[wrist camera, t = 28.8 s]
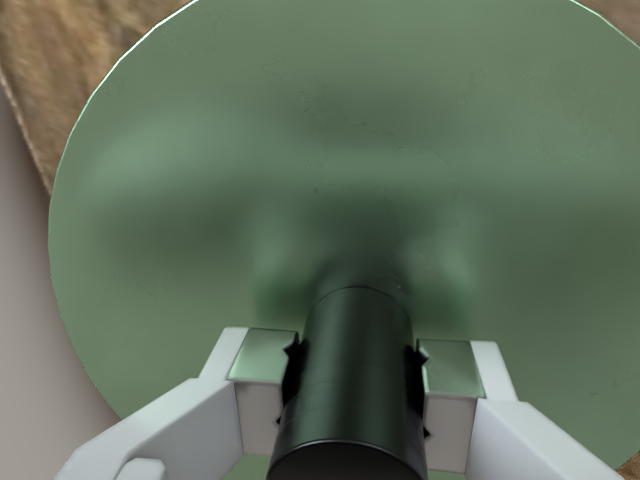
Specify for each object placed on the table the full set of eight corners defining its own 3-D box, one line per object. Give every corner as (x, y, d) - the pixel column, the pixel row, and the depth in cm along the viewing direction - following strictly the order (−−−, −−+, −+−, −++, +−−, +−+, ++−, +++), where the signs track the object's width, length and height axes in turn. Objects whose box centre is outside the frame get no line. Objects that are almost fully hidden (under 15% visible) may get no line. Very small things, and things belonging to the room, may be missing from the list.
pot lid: (601, 522, 13) (721, 788, 9) (139, 475, 15) (31, 674, 10) (826, -61, 7) (1669, -233, 2) (-1, -26, 9) (-425, -88, 4)
